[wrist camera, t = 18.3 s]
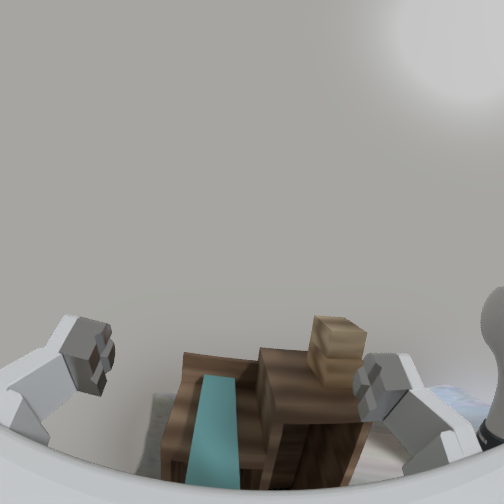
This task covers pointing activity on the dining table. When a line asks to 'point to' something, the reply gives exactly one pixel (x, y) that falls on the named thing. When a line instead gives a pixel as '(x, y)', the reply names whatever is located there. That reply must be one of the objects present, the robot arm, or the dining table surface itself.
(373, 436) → the dining table surface
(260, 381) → the rack
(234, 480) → the slat
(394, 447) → the dining table surface
